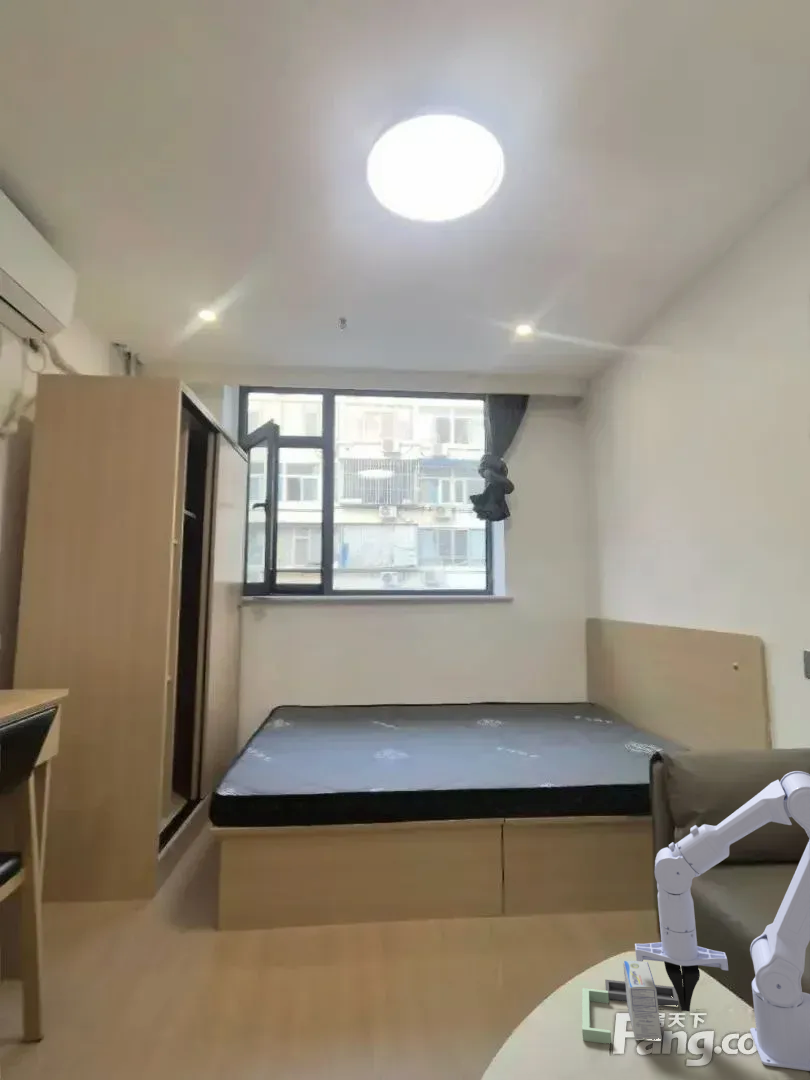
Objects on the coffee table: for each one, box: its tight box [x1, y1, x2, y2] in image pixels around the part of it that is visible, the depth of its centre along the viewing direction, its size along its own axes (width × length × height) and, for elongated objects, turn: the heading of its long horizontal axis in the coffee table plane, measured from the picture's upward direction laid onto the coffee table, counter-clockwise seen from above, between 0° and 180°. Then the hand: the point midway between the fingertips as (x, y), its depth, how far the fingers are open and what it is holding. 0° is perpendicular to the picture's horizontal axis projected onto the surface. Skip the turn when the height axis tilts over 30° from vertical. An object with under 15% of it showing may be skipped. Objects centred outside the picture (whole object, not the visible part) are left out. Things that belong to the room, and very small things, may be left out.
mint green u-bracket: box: [581, 987, 612, 1045], centre depth 109 cm, size 5×11×2 cm, turn 164°
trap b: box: [604, 979, 627, 1003], centre depth 116 cm, size 5×4×1 cm
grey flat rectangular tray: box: [655, 984, 680, 1006], centre depth 114 cm, size 5×4×1 cm
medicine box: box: [623, 960, 663, 1040], centre depth 107 cm, size 8×4×9 cm, turn 168°
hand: (684, 1007), depth 106 cm, fingers closed
